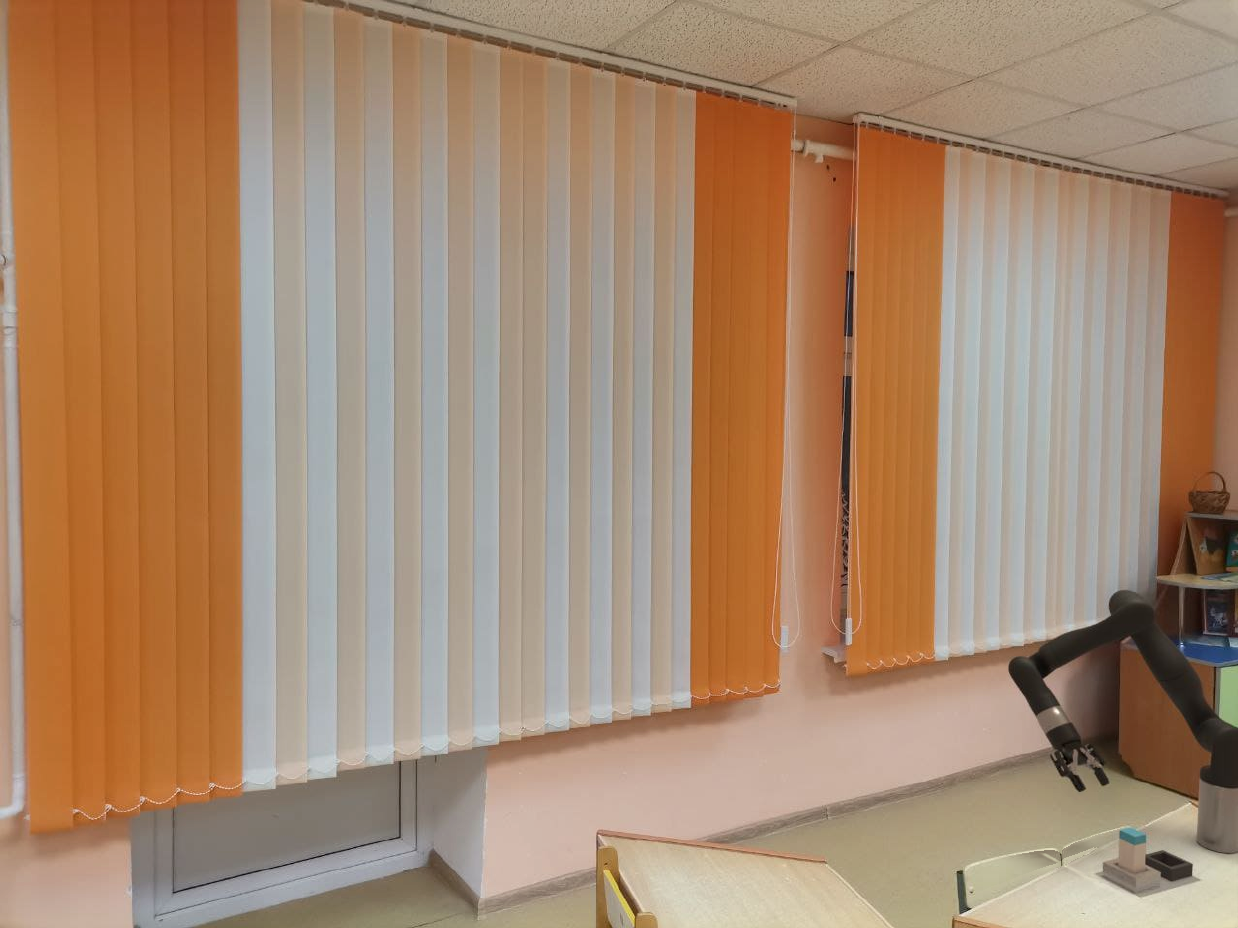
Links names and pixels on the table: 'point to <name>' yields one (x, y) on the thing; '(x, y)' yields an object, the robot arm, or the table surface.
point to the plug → (1132, 850)
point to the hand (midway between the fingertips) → (1094, 787)
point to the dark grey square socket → (1169, 865)
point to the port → (1131, 877)
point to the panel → (1164, 885)
